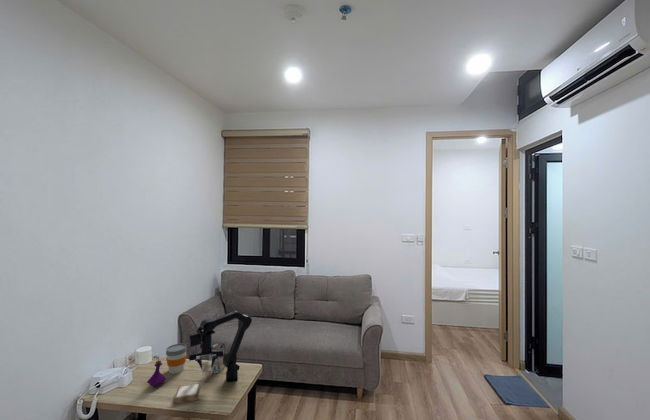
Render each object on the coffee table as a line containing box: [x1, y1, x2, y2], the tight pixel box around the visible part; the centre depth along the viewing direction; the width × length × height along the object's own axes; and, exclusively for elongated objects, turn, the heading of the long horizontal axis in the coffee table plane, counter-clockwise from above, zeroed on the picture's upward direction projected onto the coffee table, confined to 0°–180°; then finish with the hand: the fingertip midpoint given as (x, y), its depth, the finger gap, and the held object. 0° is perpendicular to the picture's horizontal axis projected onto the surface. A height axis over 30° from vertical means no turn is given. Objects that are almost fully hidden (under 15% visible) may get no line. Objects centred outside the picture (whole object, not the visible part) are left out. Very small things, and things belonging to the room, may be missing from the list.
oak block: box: [201, 360, 213, 377], centre depth 180 cm, size 5×5×6 cm
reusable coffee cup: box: [165, 343, 188, 375], centre depth 202 cm, size 13×13×15 cm
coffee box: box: [208, 341, 226, 374], centre depth 202 cm, size 9×6×16 cm
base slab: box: [173, 382, 202, 405], centre depth 173 cm, size 12×12×3 cm
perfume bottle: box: [147, 354, 167, 388], centre depth 184 cm, size 8×8×18 cm
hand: (206, 368), depth 180 cm, fingers closed on oak block, 5 cm apart
